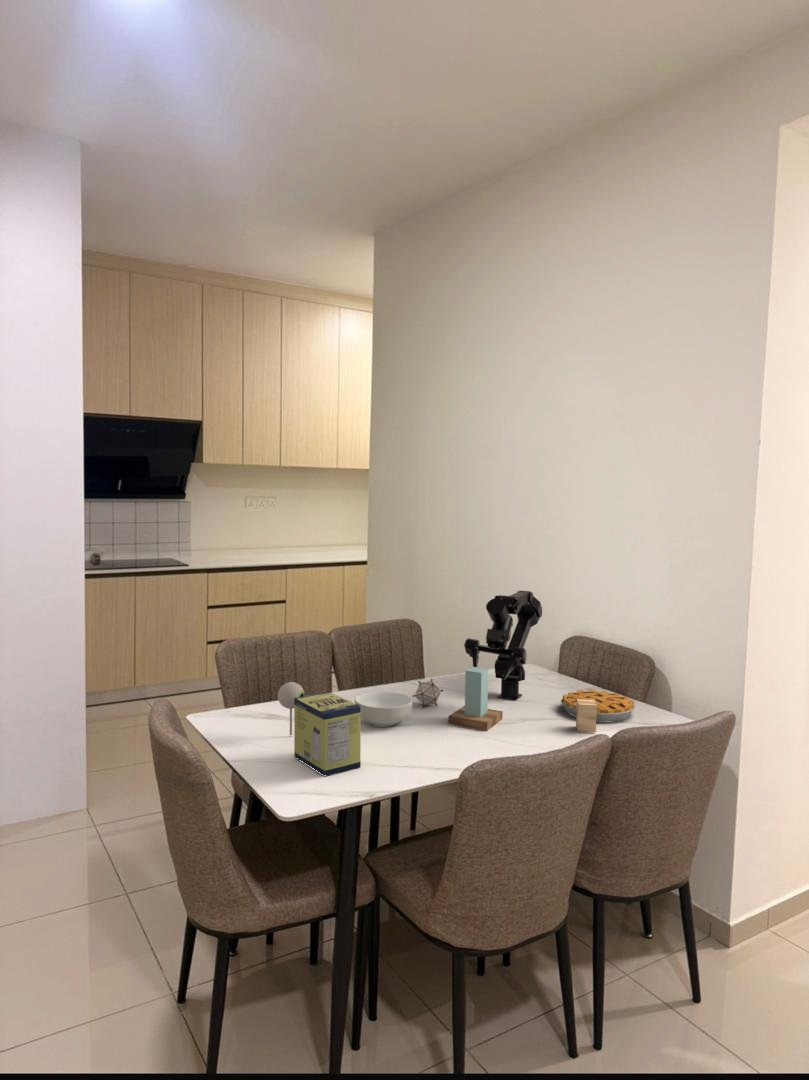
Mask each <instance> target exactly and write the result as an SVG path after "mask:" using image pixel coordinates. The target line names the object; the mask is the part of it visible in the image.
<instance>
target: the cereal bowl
mask: <svg viewBox="0 0 809 1080" xmlns="http://www.w3.org/2000/svg"><path fill="white" fill-rule="evenodd" d="M354 703H356V704H358V705H360V706H361V720H363V721H365V722H368V723H369V724H370V725H371V724H372V726H374V725H376V726H375V727H379V726H387V727H392V726H391V725H393V726H395V725H396V724H398V723H401V722H403V721H405V720H406V719H408V717H409V716H410V715H411V713H412V709H413V699H412V697H410V696H409V695H407V694H404V693H400V692H396V691H395V692H394V691H393V692H392V691H368V692H363V693H361V694H359V695H356V697H355V699H354Z"/></svg>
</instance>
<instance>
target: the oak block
mask: <svg viewBox="0 0 809 1080" xmlns="http://www.w3.org/2000/svg"><path fill="white" fill-rule="evenodd" d="M596 714H597V705H596V702H595V700H581V699H577V712H576V717H575V727H576V731H578V732H577V733H582V732H596V733H597V722H596Z"/></svg>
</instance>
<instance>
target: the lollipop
mask: <svg viewBox="0 0 809 1080" xmlns="http://www.w3.org/2000/svg"><path fill="white" fill-rule="evenodd" d="M303 696H305V691H304V689H303V687H302V686H301V685H300V684H299V683H297V682H294V681H288V682H285V683H283V684H282V685H281V686H280V687H279V690H278V692H277V700H278V703H279V704H280V706H282V707H283V708H286V709H288V710H289V736H290V735H292V736H293V709H294V698H297V697H303Z"/></svg>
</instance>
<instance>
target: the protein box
mask: <svg viewBox="0 0 809 1080" xmlns="http://www.w3.org/2000/svg"><path fill="white" fill-rule="evenodd" d="M293 709H294V711H293V713H294V717H293V718H294V729H293V731H294V739H293V740H294V742H293V743H294V746H293V747H294V749H293V750H294V758H295V757H296V758H298V759H299V760H301V761H303V762H304V763H306V764H307V765H309V766H311V767H312V768H314V769H315V770H317V771H318V772H320V773H321V774H323V775H328V776H331V775H330V774H332V775H335V774H334V773H336V774H339V773H338V772H340V773H343V772H342V771H344V772H347V771H351V770H355V769H359V768H361V766H362V765H361V763H362V762H361V729H362V728H361V724H362V723H361V720H362V718H361V706H360V705H358V704H356V703H355V702H353V701H351V700H348V699H346V698H343V696H340V695H337V694H335V693H333V692H332V691H331V692H330V691H326V692H322V693H315V694H309V695H304V696H303V697H297V698H294V708H293ZM296 758H295V759H296ZM298 759H297V760H298ZM299 760H298V761H299ZM301 761H300V762H301ZM304 763H303V764H304ZM307 765H306V766H307ZM309 766H308V767H309ZM312 768H311V769H312ZM350 769H351V770H350ZM315 770H314V771H315ZM346 770H347V771H346ZM318 772H317V773H318ZM320 773H319V774H320ZM321 774H320V775H321ZM323 775H322V776H323Z"/></svg>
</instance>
